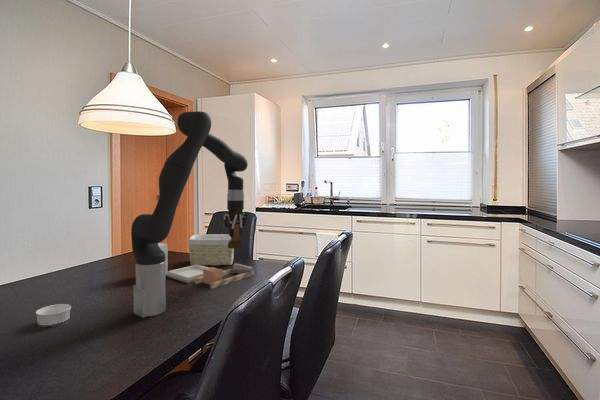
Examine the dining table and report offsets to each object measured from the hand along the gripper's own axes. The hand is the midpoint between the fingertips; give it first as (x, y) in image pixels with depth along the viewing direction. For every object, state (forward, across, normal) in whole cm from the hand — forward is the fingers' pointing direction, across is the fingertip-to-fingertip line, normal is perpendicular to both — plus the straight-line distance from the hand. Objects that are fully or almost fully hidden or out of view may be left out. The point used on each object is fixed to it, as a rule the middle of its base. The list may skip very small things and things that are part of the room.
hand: (235, 236), depth 153 cm
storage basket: (+19, +10, +29) cm, 36 cm away
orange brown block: (+19, -13, 0) cm, 23 cm away
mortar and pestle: (+6, 0, 0) cm, 6 cm away
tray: (+19, -12, +16) cm, 28 cm away
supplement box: (+20, -24, +29) cm, 42 cm away
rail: (+19, -6, 0) cm, 20 cm away
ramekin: (+20, -69, +7) cm, 72 cm away
